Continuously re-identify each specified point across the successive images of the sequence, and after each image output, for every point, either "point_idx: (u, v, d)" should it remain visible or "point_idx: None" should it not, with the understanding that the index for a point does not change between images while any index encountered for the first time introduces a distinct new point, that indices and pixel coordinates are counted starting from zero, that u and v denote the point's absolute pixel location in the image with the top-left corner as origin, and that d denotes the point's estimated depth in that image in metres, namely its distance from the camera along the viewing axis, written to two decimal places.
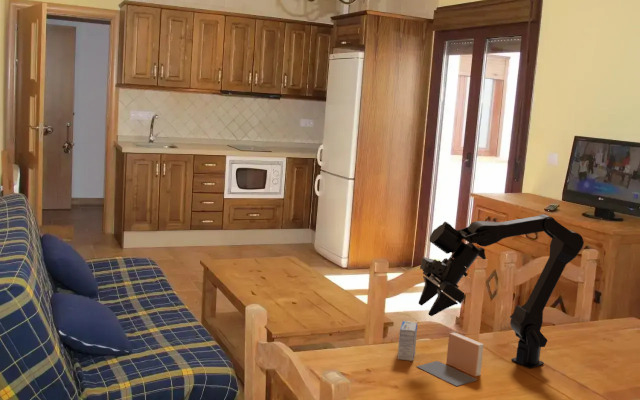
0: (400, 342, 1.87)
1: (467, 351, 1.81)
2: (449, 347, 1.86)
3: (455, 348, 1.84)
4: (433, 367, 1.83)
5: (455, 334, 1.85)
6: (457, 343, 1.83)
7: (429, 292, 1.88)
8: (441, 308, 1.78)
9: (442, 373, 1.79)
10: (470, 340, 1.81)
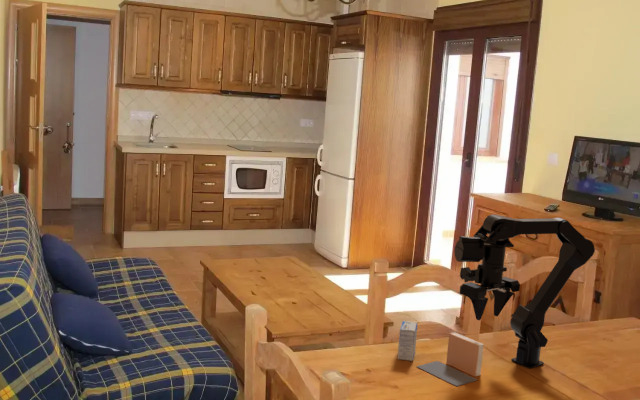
0: (400, 342, 1.87)
1: (467, 351, 1.81)
2: (449, 347, 1.86)
3: (455, 348, 1.84)
4: (433, 367, 1.83)
5: (455, 334, 1.85)
6: (457, 343, 1.83)
7: (498, 301, 1.88)
8: (479, 309, 1.82)
9: (442, 373, 1.79)
10: (470, 340, 1.81)
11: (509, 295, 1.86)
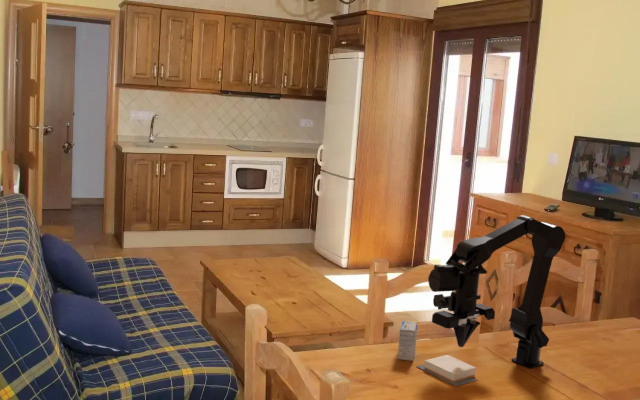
0: (400, 342, 1.87)
1: None
2: None
3: None
4: None
5: (428, 366, 1.81)
6: None
7: None
8: (461, 336, 1.79)
9: None
10: (443, 372, 1.76)
11: (474, 325, 1.79)
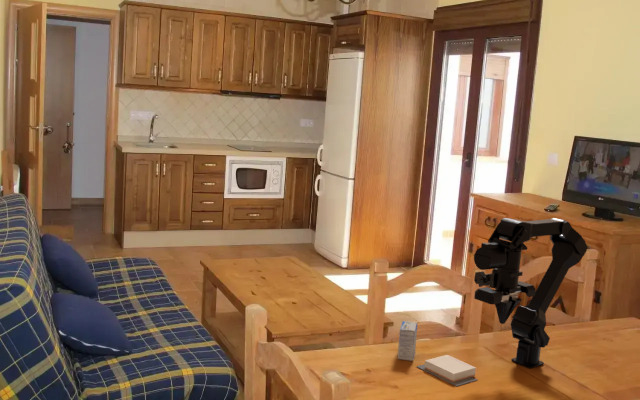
0: (400, 342, 1.87)
1: None
2: None
3: None
4: None
5: (428, 366, 1.81)
6: None
7: None
8: (503, 313, 1.80)
9: None
10: (443, 372, 1.76)
11: (516, 302, 1.80)
